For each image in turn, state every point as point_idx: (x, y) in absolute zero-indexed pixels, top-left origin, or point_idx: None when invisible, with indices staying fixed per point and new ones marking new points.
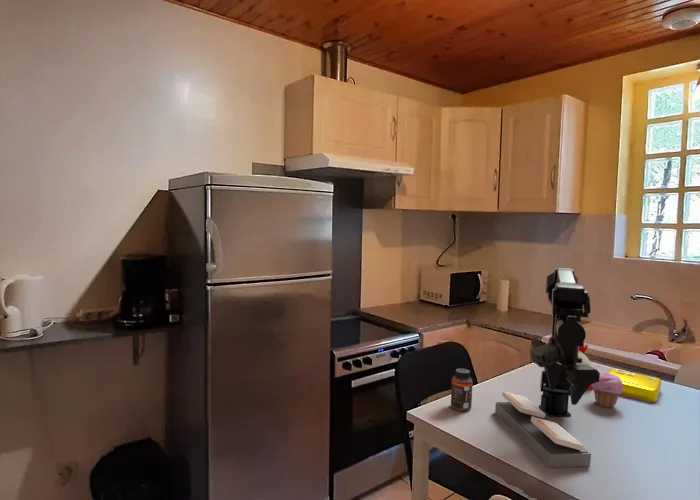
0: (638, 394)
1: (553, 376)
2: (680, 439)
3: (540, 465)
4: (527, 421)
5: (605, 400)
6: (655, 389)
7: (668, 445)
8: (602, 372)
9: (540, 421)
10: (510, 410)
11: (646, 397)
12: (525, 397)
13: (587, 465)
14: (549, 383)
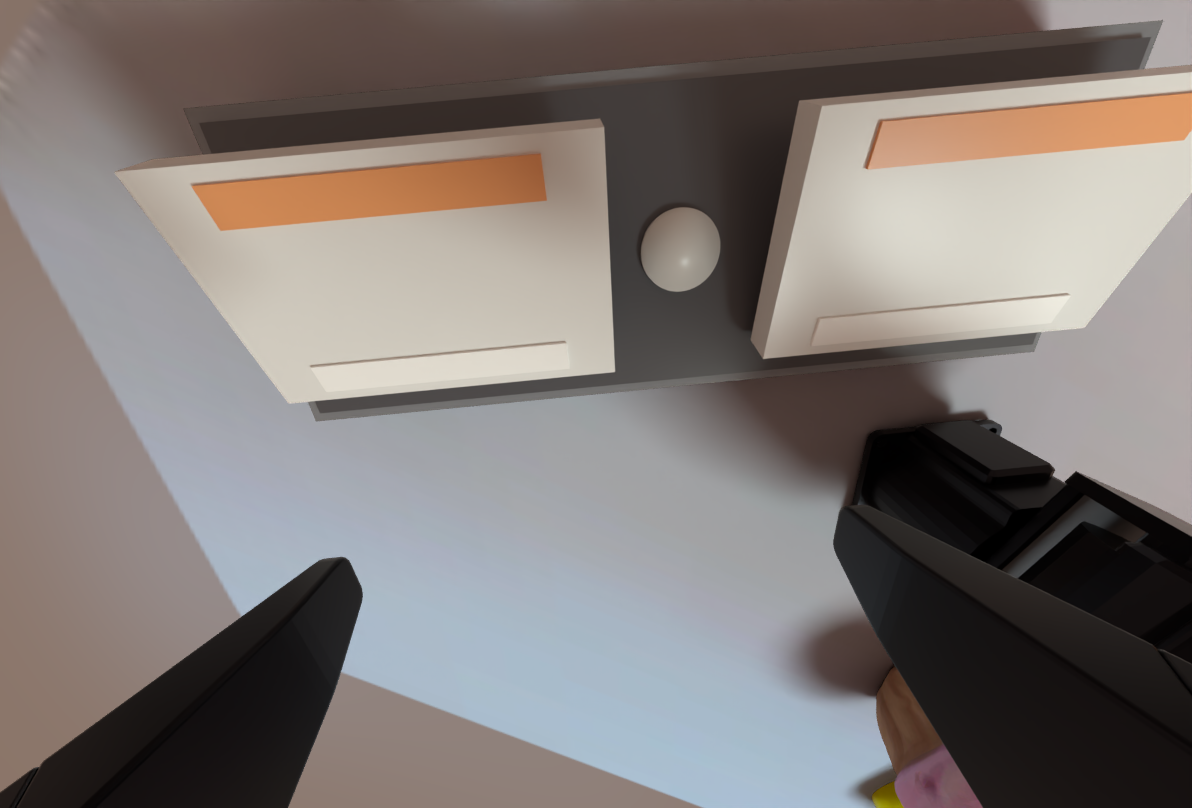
0: None
1: (1028, 744)
2: (621, 752)
3: (268, 71)
4: (730, 179)
5: (902, 706)
6: None
7: (580, 712)
8: None
9: (502, 181)
10: None
11: (895, 800)
12: (1072, 328)
13: None
14: (924, 554)
